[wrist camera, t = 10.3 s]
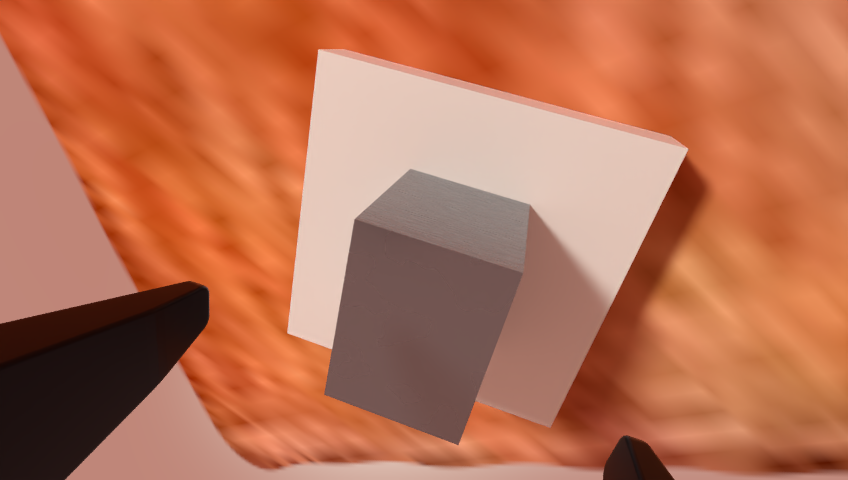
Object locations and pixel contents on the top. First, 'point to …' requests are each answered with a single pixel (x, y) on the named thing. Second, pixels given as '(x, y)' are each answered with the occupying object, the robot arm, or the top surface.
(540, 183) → the board
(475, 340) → the block
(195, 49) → the top surface
